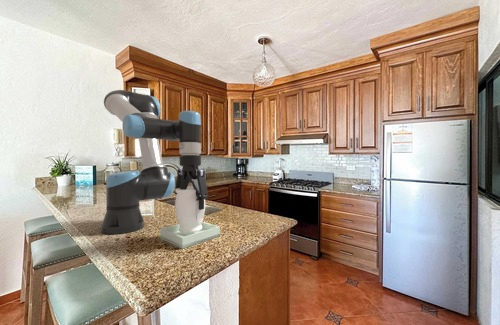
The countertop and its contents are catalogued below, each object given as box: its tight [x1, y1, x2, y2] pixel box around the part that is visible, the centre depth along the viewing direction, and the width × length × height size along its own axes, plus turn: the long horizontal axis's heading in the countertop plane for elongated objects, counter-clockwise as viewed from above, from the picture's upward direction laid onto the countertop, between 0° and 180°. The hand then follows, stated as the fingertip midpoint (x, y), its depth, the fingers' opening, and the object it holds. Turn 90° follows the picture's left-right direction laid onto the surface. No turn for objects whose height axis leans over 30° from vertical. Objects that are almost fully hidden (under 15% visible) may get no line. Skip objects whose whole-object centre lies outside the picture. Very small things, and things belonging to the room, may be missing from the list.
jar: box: [174, 186, 206, 233], centre depth 79 cm, size 11×10×15 cm
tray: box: [159, 221, 221, 250], centre depth 79 cm, size 14×15×4 cm
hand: (190, 216), depth 79 cm, fingers closed on jar, 10 cm apart
